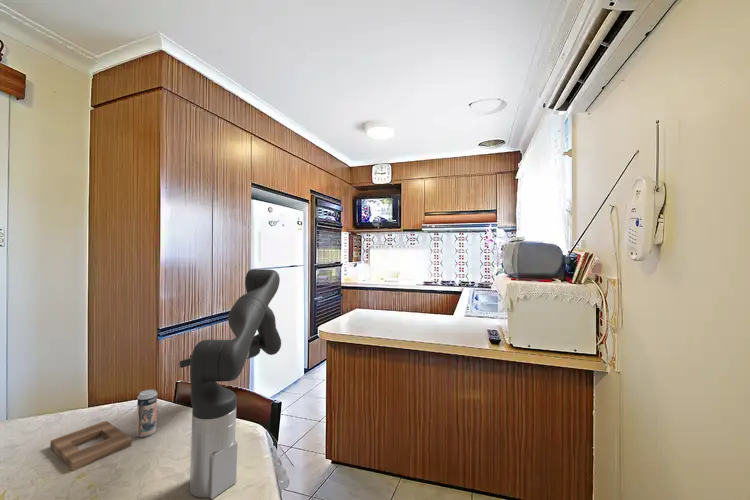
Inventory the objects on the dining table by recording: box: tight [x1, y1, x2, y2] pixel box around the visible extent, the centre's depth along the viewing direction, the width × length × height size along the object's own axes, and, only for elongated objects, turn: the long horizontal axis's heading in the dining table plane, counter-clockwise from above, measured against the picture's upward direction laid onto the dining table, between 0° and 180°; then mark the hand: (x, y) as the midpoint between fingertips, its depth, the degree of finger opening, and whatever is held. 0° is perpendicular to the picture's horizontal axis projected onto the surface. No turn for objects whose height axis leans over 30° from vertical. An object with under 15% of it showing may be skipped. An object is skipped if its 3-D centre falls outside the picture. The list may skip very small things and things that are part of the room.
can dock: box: [49, 420, 132, 472], centre depth 86 cm, size 16×12×2 cm
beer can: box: [136, 389, 158, 438], centre depth 93 cm, size 5×5×12 cm
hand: (187, 367), depth 102 cm, fingers open, 8 cm apart
